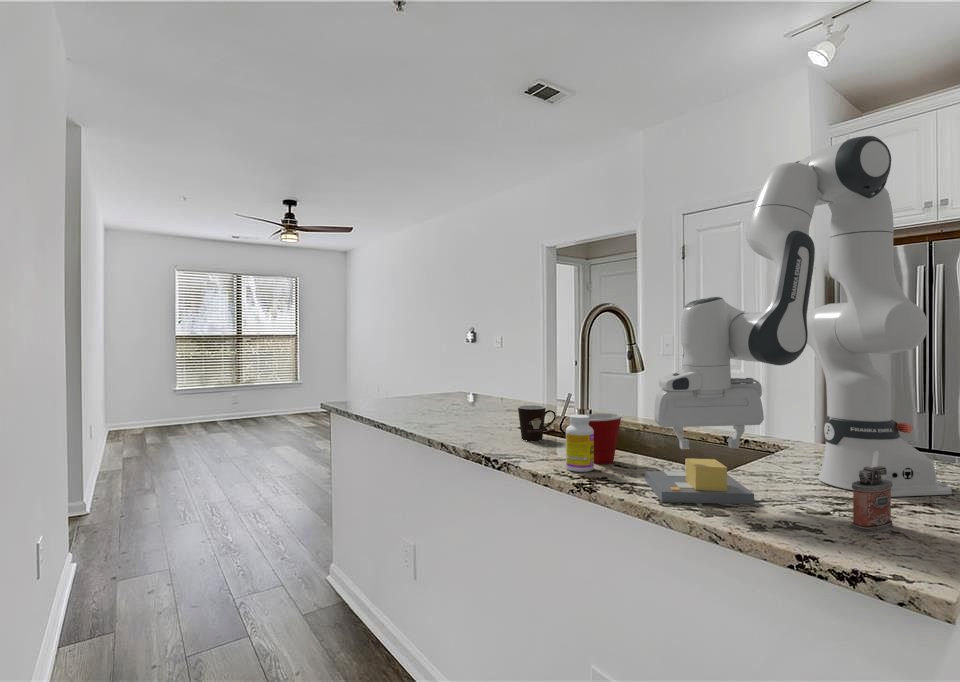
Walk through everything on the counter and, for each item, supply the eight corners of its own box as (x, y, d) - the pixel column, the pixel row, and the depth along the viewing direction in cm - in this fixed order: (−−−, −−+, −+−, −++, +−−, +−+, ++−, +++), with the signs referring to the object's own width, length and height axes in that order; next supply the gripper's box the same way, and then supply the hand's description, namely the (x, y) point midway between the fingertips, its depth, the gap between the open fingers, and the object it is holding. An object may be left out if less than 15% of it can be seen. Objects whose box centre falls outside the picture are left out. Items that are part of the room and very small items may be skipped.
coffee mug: (516, 441, 156) (516, 408, 156) (519, 436, 165) (519, 405, 165) (555, 442, 155) (555, 409, 154) (556, 437, 163) (555, 405, 163)
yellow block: (714, 481, 106) (715, 459, 106) (726, 491, 100) (727, 467, 100) (685, 480, 107) (685, 458, 107) (695, 490, 100) (695, 466, 100)
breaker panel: (724, 481, 113) (724, 471, 113) (754, 504, 98) (754, 492, 98) (644, 480, 115) (644, 470, 115) (661, 502, 100) (661, 490, 100)
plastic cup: (584, 454, 139) (584, 410, 139) (626, 458, 134) (625, 412, 134) (574, 464, 129) (574, 416, 129) (618, 468, 125) (618, 419, 124)
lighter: (868, 534, 83) (868, 472, 83) (846, 527, 86) (846, 467, 86) (898, 527, 86) (898, 467, 86) (875, 520, 89) (875, 462, 89)
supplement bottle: (594, 473, 121) (593, 418, 120) (565, 472, 122) (565, 417, 122) (593, 466, 127) (593, 414, 127) (566, 465, 128) (566, 413, 128)
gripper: (754, 375, 105) (756, 443, 105) (650, 379, 107) (653, 445, 107) (768, 378, 99) (770, 450, 99) (658, 382, 101) (661, 453, 101)
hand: (709, 448), depth 103 cm, fingers open, 8 cm apart
